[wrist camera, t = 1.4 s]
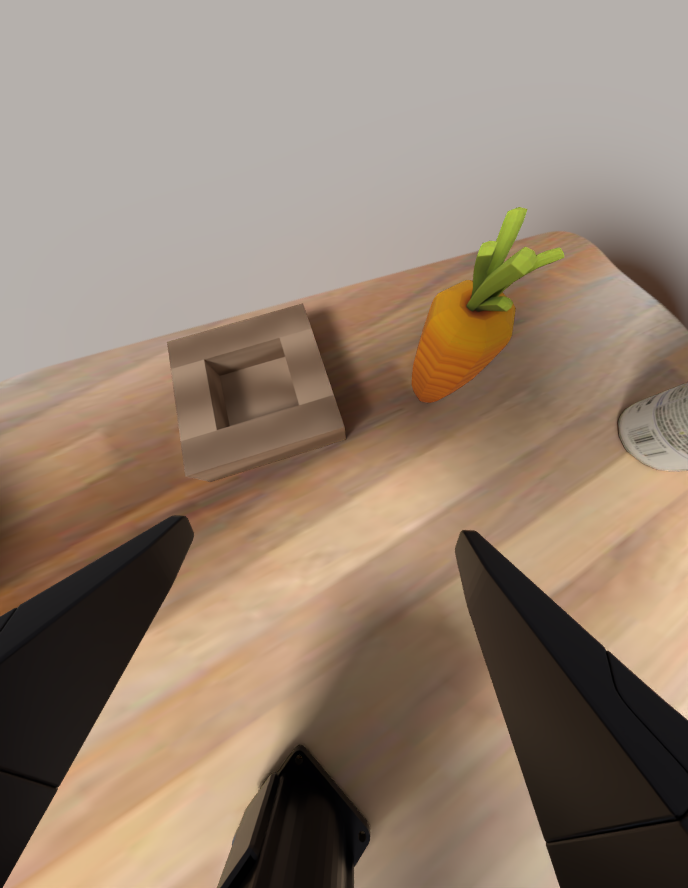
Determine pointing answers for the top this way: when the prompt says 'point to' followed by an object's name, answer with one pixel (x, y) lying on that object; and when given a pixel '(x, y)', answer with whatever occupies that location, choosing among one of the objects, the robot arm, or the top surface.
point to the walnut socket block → (251, 394)
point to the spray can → (658, 430)
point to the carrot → (473, 315)
